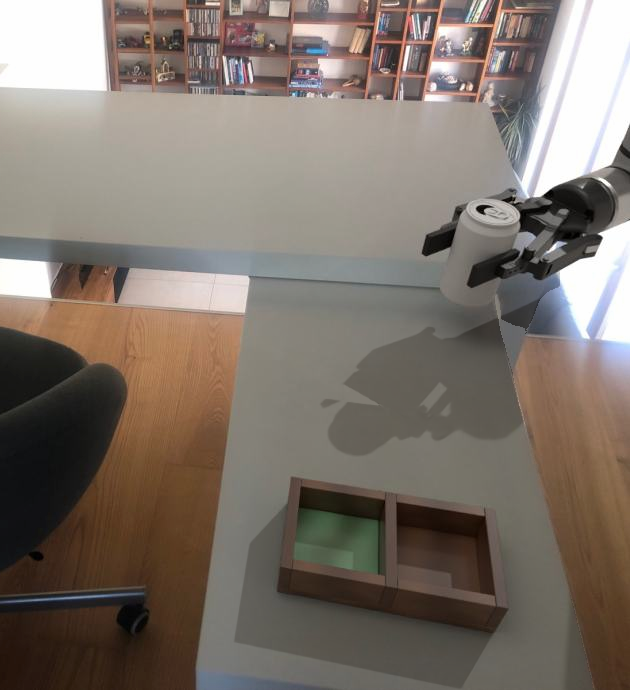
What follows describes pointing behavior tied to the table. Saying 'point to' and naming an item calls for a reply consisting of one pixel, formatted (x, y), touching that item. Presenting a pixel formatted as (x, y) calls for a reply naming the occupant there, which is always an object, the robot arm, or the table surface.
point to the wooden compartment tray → (393, 554)
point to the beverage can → (478, 249)
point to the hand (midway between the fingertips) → (448, 260)
